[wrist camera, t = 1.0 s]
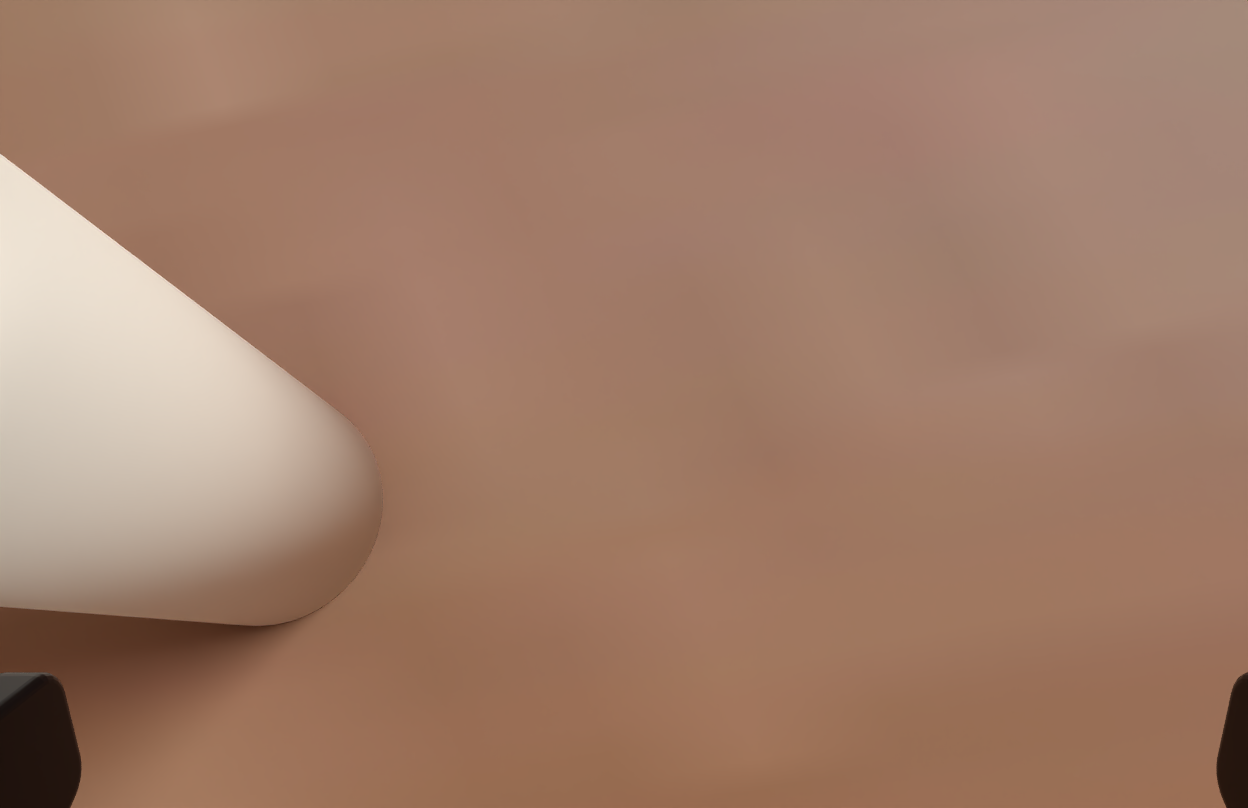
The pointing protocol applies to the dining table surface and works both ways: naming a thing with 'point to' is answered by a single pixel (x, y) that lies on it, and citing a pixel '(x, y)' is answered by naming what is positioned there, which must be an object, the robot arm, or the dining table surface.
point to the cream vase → (158, 444)
